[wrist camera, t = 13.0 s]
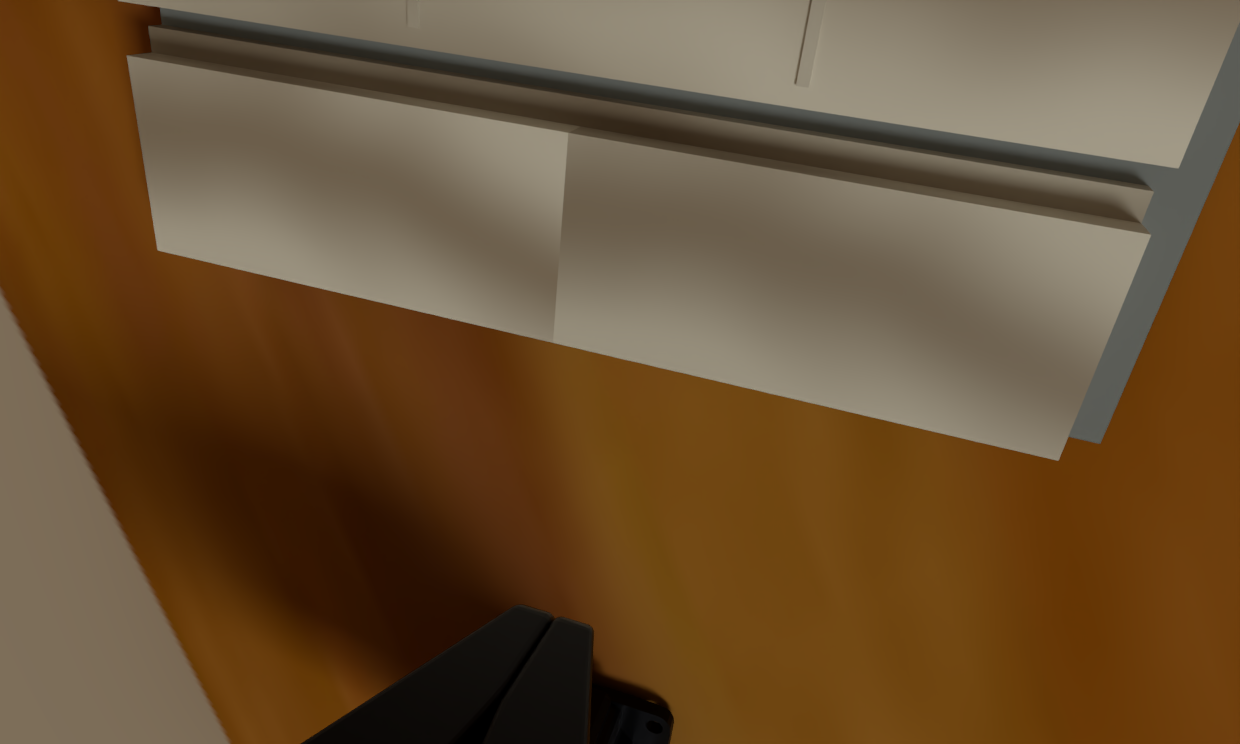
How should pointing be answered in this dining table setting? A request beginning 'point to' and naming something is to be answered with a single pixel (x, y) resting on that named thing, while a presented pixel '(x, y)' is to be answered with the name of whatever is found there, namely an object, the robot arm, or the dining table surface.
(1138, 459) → the dining table surface
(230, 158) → the floor row
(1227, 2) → the plank
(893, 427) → the dining table surface
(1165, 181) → the underlay mat
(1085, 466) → the dining table surface
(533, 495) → the dining table surface
